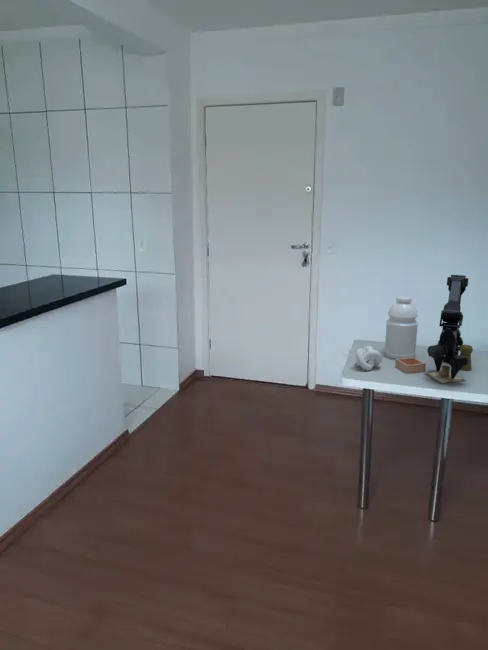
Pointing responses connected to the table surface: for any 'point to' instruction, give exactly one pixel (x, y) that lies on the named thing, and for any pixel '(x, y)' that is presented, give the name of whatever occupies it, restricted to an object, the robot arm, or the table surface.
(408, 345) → the bottle
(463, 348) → the olive pestle
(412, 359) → the pink open box
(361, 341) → the table surface
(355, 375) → the table surface
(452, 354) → the robot arm
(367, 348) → the white decorative knot
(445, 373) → the lid
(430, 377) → the mat
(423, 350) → the table surface
